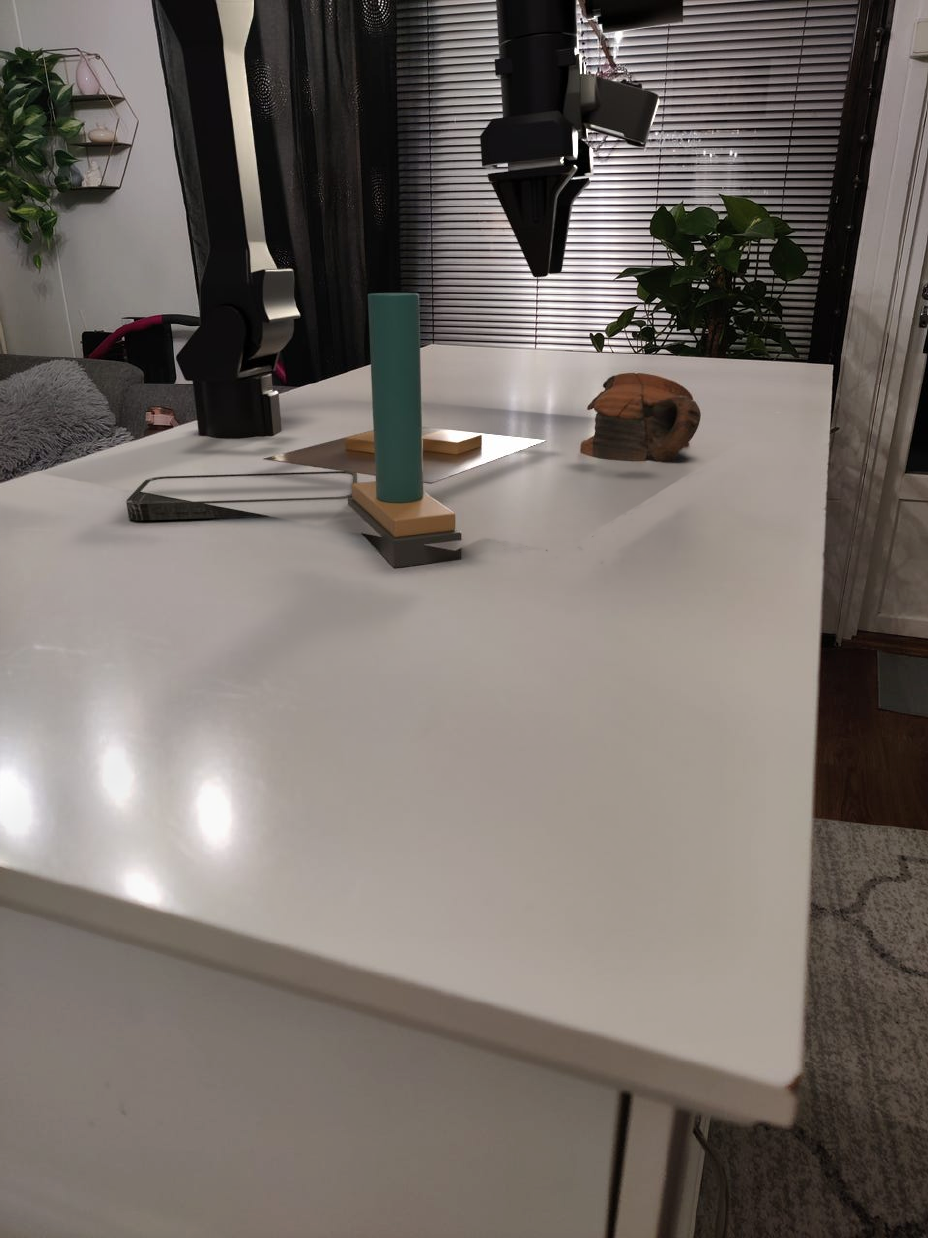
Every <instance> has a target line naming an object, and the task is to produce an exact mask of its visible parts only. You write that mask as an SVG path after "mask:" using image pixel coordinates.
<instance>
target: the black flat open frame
mask: <svg viewBox="0 0 928 1238" xmlns="http://www.w3.org/2000/svg"><path fill="white" fill-rule="evenodd" d="M320 474H321V475H322V474H323V475H324V474H346V475H351V476H352V483H358V473H355V472H350V471H340V470H333V471H331V470H329V471H303V472H302V471H297V472H267V473H235V474H233V473H232V474H230V473H229V474H206V475H205V474H204V475H203V474H202V475H201V474H200V475H166V476H156V477H149V478H147V479H145V480H144V481H143V482H142V483H141V484H140V485H139V486H138V487H137V488H136V489H135V491H133V493H131V494H130V496H129V497H128V498H127V499H126V501H125V502H126V510H127V516H128V519H130V520H132V521H163V520H164V521H165V520H166V521H167V520H170V521H171V520H196V519H197V520H198V519H220V518H221V519H222V518H223V519H225V518H227V519H228V518H251V517H254V518H255V517H269V515H267V514H261V513H257V512H252V511H251V512H250V511H246V510H240V509H234V508H229V507H224V506H220V505H219V506H218V505H215V504H228V503H229V504H230V503H261V502H262V503H264V502H285V501H286V502H287V501H288V502H290V501H293V502H294V501H320V500H324V501H325V500H344V499H348V498H349V497H352V493H350V494H347V495H342V496H341V495H340V496H320V497H319V496H318V497H292V498H291V497H290V498H260V499H230V500H229V499H228V500H200V501H199V500H198V501H192V500H188V499H181V498H176V497H170V496H165V495H161V494H160V495H159V494H155V493H150V492H145V491H143V490H144V488H145V487H147V485H148V484H149V483H151V482H152V481H153V482H154V481H157V480H163V479H164V480H165V479H191V478H194V479H195V478H222V477H223V478H226V477H228V478H229V477H256V476H259V477H260V476H261V477H262V476H287V475H288V476H289V475H290V476H291V475H294V476H295V475H320ZM213 504H214V505H213Z"/></svg>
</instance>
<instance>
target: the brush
mask: <svg viewBox="0 0 928 1238" xmlns="http://www.w3.org/2000/svg"><path fill="white" fill-rule="evenodd" d="M367 310H368V330H369V331H368V332H369V333H368V334H369V355H370V378H371V379H370V380H371V400H372V402H371V403H372V404H371V405H372V421H373V422H372V424H373V425H372V426H373V430H374V451H375V474H376V476H375V480H374V481H364V482H363V481H362V482H357V483H353V482H352V483H351V494H352V497H349V498H347V505H348V506H349V507H350V508H351V509H352V510H353V511H354V512H355V513H356V514H357V515H358V516H359V517H360V518H361V519H362V520H363V521H365V523H367V524H368V525H369V526H370V528H371V529H372V530H374V531H375V533H377V534H378V535H375V534H369V533H365V532H364V533H363V532H360V534H361V535H362V536H363V537H364V539H366V540H367V542H369V544H370V545H372V546H373V547H374V548H375V549H376V550H377V552H378V553H379V554H381V555H382V556H383V558H384V559H385V560H386V561H387V562H389V564H390V565H391V566H392V567H393V568H404V567H413V566H418V565H427V564H433V563H442V562H450V561H451V562H452V561H459V560H462V559H463V558H462V547H459V548H458V549H448V548H443V547H440V546H439V547H438V546H432V544H440V543H448V542H456V541H457V542H458V541H462V532H461V531H460V530H459V529H458V528H456V513H455V512H453V511H452V510H451V509H449V508H448V507H446V506H445V505H443V504H442V503H441V502H439V501H438V500H437V499H435V498H434V497H432V496H431V495H429V494H428V493H427V492H425V491H424V483H423V451H422V427H423V414H422V413H423V410H422V409H423V408H422V370H421V369H422V368H421V366H422V365H421V363H422V362H421V324H420V323H421V322H420V321H421V319H420V294H419V293H417V292H375V293H368V294H367Z"/></svg>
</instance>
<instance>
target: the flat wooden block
mask: <svg viewBox="0 0 928 1238" xmlns="http://www.w3.org/2000/svg"><path fill="white" fill-rule="evenodd" d="M369 431H370V432H368V431H365V432H366V433H364V432H361V433H362V434H360V433H357V434H358V435H356V434H353V435H354V436H353V435H350V436H351V437H349V436H346V437H347V438H345V437H344V438H345V446H346V450H352V451H360V452H367V453H375V451H374V431H372V430H369Z"/></svg>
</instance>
